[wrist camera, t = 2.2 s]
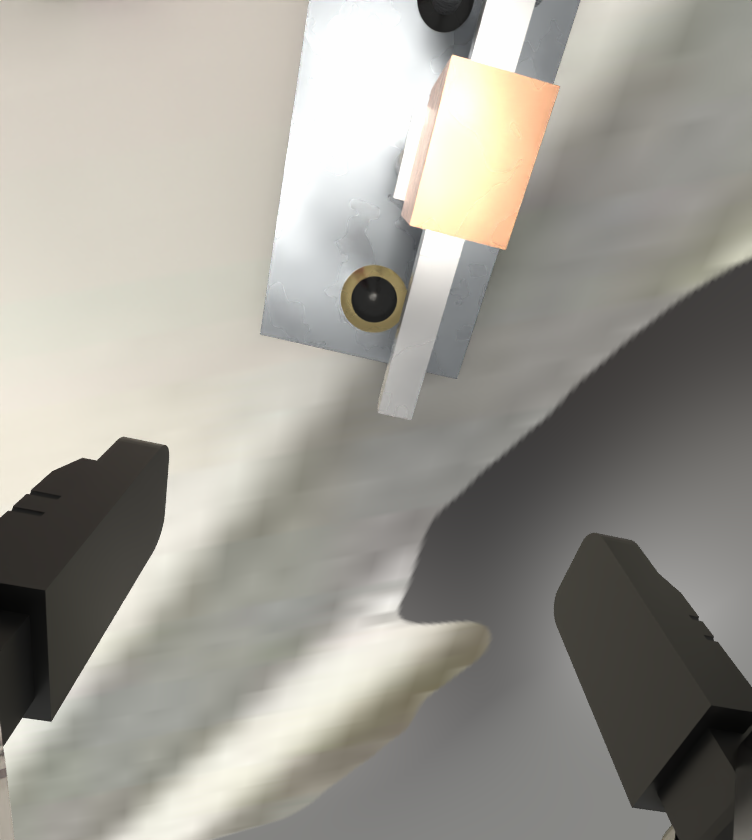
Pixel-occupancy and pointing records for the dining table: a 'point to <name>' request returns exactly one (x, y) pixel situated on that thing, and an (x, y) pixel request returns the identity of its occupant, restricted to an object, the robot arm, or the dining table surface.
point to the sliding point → (472, 151)
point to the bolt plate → (387, 182)
